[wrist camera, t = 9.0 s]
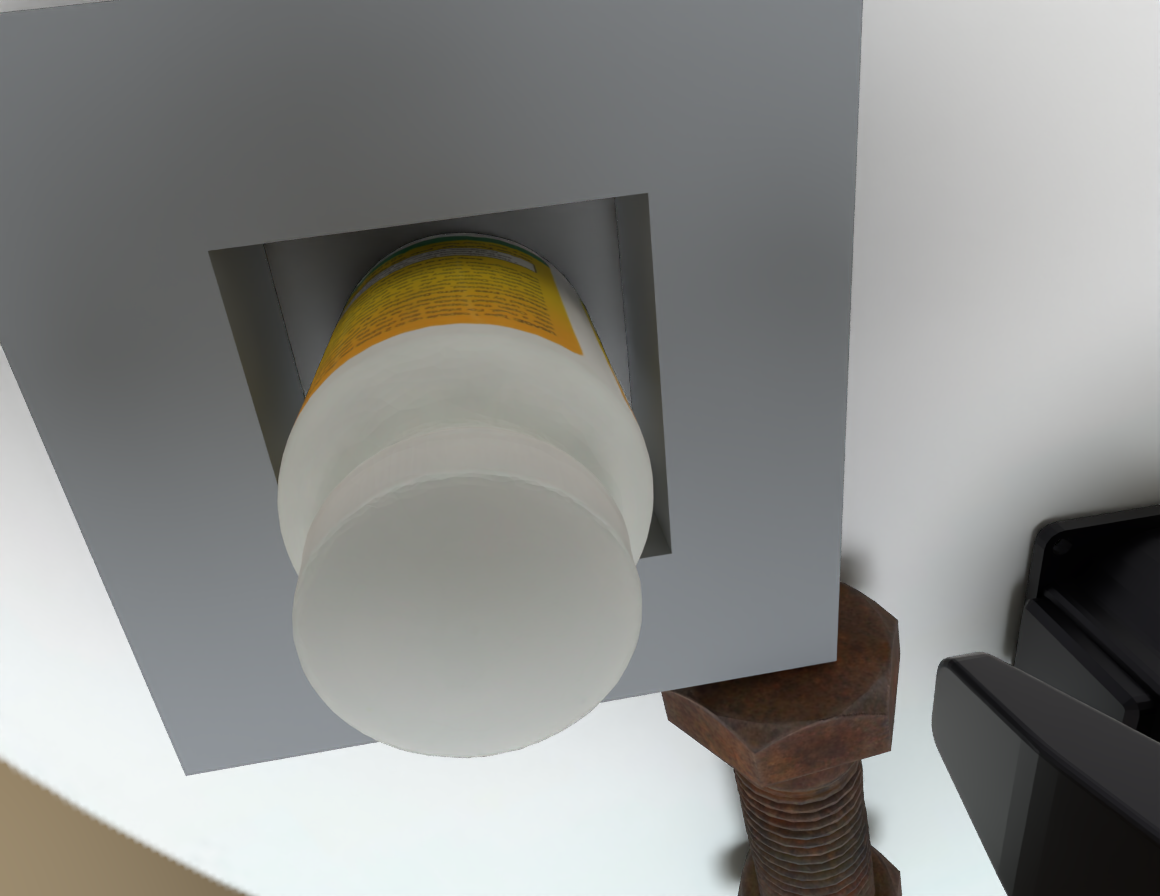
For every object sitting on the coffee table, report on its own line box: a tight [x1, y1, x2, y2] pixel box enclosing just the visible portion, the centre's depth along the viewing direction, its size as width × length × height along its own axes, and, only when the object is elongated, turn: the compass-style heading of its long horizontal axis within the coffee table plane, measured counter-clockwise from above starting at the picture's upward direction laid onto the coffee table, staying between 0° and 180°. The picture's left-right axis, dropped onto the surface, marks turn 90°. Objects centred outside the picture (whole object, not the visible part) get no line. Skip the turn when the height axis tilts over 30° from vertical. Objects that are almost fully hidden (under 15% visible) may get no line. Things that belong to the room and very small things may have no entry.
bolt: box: [661, 582, 902, 896], centre depth 24 cm, size 6×5×15 cm
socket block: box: [0, 0, 863, 776], centre depth 17 cm, size 14×14×4 cm
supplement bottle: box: [277, 233, 653, 758], centre depth 14 cm, size 5×5×10 cm
